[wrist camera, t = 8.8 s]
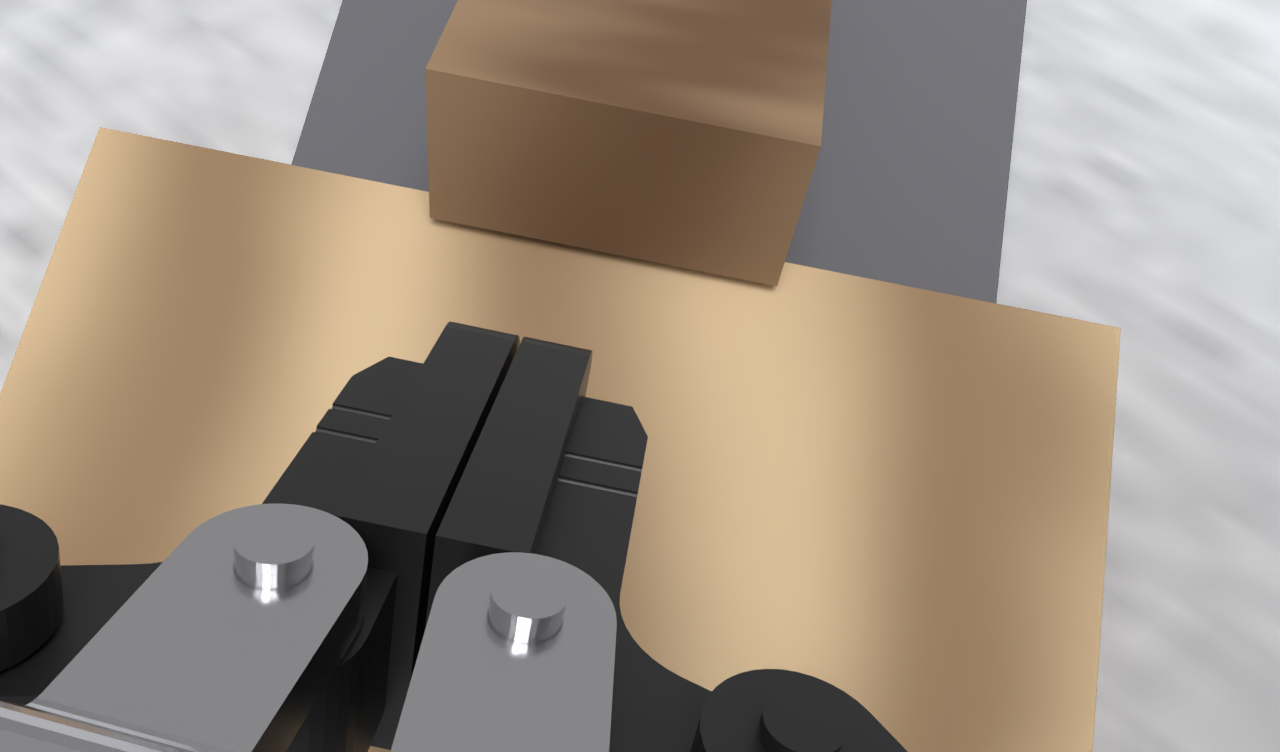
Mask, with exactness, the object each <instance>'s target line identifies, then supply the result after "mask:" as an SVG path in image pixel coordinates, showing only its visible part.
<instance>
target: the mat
mask: <svg viewBox="0 0 1280 752" xmlns="http://www.w3.org/2000/svg"><path fill="white" fill-rule="evenodd" d="M457 1H458V0H343V1H342V5H341V8H340V11H339V14H338V17H337V21H336V24H335V27H334V30H333V33H332V37H331V40H330V43H329V46H328V49H327V53H326V56H325V59H324V62H323V65H322V69H321V72H320V75H319V78H318V81H317V85H316V88H315V91H314V94H313V97H312V101H311V104H310V107H309V110H308V113H307V117H306V120H305V123H304V126H303V130H302V133H301V136H300V139H299V142H298V146H297V149H296V152H295V155H294V158H293V162H292V165H294V166H299V167H304V168H309V169H315V170H320V171H325V172H330V173H335V174H340V175H345V176H350V177H355V178H360V179H365V180H370V181H376V182H381V183H386V184H391V185H396V186H401V187H406V188H411V189H416V190H421V191H426V192H429V176H428V142H427V108H426V73H425V68H426V66H427V64H428V62H429V60H430V58H431V56H432V54H433V52H434V50H435V47H436V45H437V43H438V41H439V39H440V37H441V35H442V33H443V31H444V29H445V26H446V24H447V22H448V20H449V18H450V16H451V14H452V12H453V10H454V8H455V5H456V3H457ZM1026 4H1027V0H832V2H831V16H830V29H829V43H828V56H827V70H826V84H825V97H824V111H823V124H822V138H821V148H820V151H819V154H818V157H817V160H816V164H815V167H814V170H813V173H812V176H811V180H810V183H809V186H808V189H807V192H806V196H805V199H804V202H803V205H802V208H801V212H800V215H799V218H798V221H797V224H796V228H795V231H794V234H793V237H792V240H791V244H790V247H789V250H788V253H787V256H786V260H785V262H787V263H792V264H797V265H802V266H808V267H813V268H818V269H823V270H828V271H833V272H838V273H843V274H848V275H853V276H858V277H863V278H868V279H874V280H879V281H884V282H889V283H894V284H899V285H904V286H909V287H914V288H919V289H924V290H929V291H935V292H940V293H945V294H950V295H955V296H960V297H965V298H970V299H975V300H980V301H985V302H990V303H996V298H997V289H998V279H999V269H1000V259H1001V249H1002V239H1003V230H1004V220H1005V210H1006V200H1007V190H1008V181H1009V171H1010V161H1011V151H1012V141H1013V131H1014V122H1015V112H1016V102H1017V92H1018V82H1019V73H1020V63H1021V53H1022V43H1023V33H1024V23H1025V14H1026Z"/></svg>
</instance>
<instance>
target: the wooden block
mask: <svg viewBox="0 0 1280 752" xmlns="http://www.w3.org/2000/svg"><path fill="white" fill-rule="evenodd" d="M448 322H456V323H461V324H466V325H470V326H475V327H480V328H485V329H490V330H495V331H499V332H504V333H509V334H514V335H519V338H520V343H521V341H522V339H523V337H530V338H534V339H539V340H544V341H549V342H554V343H559V344H563V345H568V346H573V347H578V348H583V349H588V350H592V351H593V353H592V362H591V368H590V374H589V379H588V385H587V390H586V396H585V397H589V398H593V399H598V400H603V401H608V402H613V403H618V404H622V405H627V406H632V407H633V409H634V411H635V413H636V414H637V416H638V418H639V420H640V422H641V424H642V426H643V428H644V430H645V432H646V434H647V436H648V439H647V445H646V451H645V456H644V462H643V467H642V472H641V479H640V484H639V490H638V495H637V501H636V507H635V513H634V518H633V524H632V529H631V535H630V541H629V546H628V552H627V558H626V563H625V569H624V575H623V580H622V586H621V591H620V610H621V615H622V618H623V621H624V623H625V626H626V628H627V629H628V631H629V633H630V634H631V636H632V638H633V639H634V640H635V641H636V642H637V644H638V645H639V646H640V647H641V648H642V649H643V650H644V651H645V652H646V653H647V654H648V655H649V656H650V657H651V658H652V659H654V660H655V661H656V662H658V663H659V664H661V665H662V666H664V667H665V668H666V669H668V670H670V671H672V672H673V673H675V674H677V675H679V676H681V677H683V678H685V679H687V680H689V681H691V682H693V683H695V684H697V685H699V686H701V687H704V688H706V689H708V690H710V691H713V690H714V689H715V687H716V686H718V685H719V684H720V683H722V682H723V681H725V680H726V679H728V678H730V677H732V676H734V675H737V674H739V673H743V672H747V671H751V670H759V669H783V670H789V671H795V672H800V673H803V674H807V675H810V676H813V677H816V678H818V679H821V680H823V681H825V682H828V683H830V684H832V685H834V686H835V687H837V688H839V689H841V690H843V691H844V692H846V693H847V694H849V695H850V696H851V697H853V698H854V699H856V700H857V701H858V702H859V703H860V704H861V705H862V706H864V707H865V708H866V709H867V710H868V711H869V712H870V713H871V714H872V715H873V716H874V717H875V718H876V719H877V720H878V721H879V722H880V723H881V724H882V725H883V726H884V727H885V728H886V730H887V731H888V732H889V733H890V734H891V735H892V736H893V737H894V738H895V739H896V740H897V741H898V742H899V743H900V744H901V745H902V746H903V747H904V748H905V749H906V750H907V751H908V752H1093V738H1094V722H1095V707H1096V692H1097V677H1098V662H1099V647H1100V632H1101V617H1102V602H1103V587H1104V572H1105V557H1106V542H1107V526H1108V511H1109V496H1110V481H1111V466H1112V451H1113V436H1114V421H1115V406H1116V391H1117V376H1118V361H1119V345H1120V330H1121V328H1118V327H1112V326H1107V325H1102V324H1097V323H1092V322H1087V321H1082V320H1077V319H1072V318H1067V317H1062V316H1057V315H1051V314H1046V313H1041V312H1036V311H1031V310H1026V309H1021V308H1016V307H1011V306H1006V305H1001V304H996V303H990V302H985V301H980V300H975V299H970V298H965V297H960V296H955V295H950V294H945V293H940V292H935V291H929V290H924V289H919V288H914V287H909V286H904V285H899V284H894V283H889V282H884V281H879V280H874V279H868V278H863V277H858V276H853V275H848V274H843V273H838V272H833V271H828V270H823V269H818V268H813V267H808V266H802V265H797V264H792V263H787V262H785V263H784V266H783V269H782V272H781V276H780V279H779V282H778V285H777V286H774V285H769V284H764V283H758V282H753V281H748V280H743V279H738V278H733V277H728V276H723V275H718V274H713V273H708V272H703V271H697V270H692V269H687V268H682V267H677V266H672V265H667V264H662V263H657V262H652V261H647V260H642V259H636V258H631V257H626V256H621V255H616V254H611V253H606V252H601V251H596V250H591V249H586V248H581V247H576V246H570V245H565V244H560V243H555V242H550V241H545V240H540V239H535V238H530V237H525V236H520V235H515V234H509V233H504V232H499V231H494V230H489V229H484V228H479V227H474V226H469V225H464V224H459V223H454V222H449V221H443V220H438V219H433V218H430V211H429V192H426V191H421V190H416V189H411V188H406V187H401V186H396V185H391V184H386V183H381V182H376V181H370V180H365V179H360V178H355V177H350V176H345V175H340V174H335V173H330V172H325V171H320V170H315V169H309V168H304V167H299V166H294V165H289V164H284V163H279V162H274V161H269V160H264V159H259V158H254V157H248V156H243V155H238V154H233V153H228V152H223V151H218V150H213V149H208V148H203V147H198V146H193V145H188V144H182V143H177V142H172V141H167V140H162V139H157V138H152V137H147V136H142V135H137V134H132V133H127V132H121V131H116V130H111V129H106V128H101V127H100V128H99V130H98V133H97V136H96V138H95V141H94V144H93V146H92V149H91V152H90V155H89V157H88V160H87V163H86V165H85V168H84V171H83V173H82V176H81V179H80V181H79V184H78V187H77V189H76V192H75V195H74V197H73V200H72V203H71V206H70V208H69V211H68V214H67V216H66V219H65V222H64V224H63V227H62V230H61V232H60V235H59V238H58V240H57V243H56V246H55V248H54V251H53V254H52V257H51V259H50V262H49V265H48V267H47V270H46V273H45V275H44V278H43V281H42V283H41V286H40V289H39V291H38V294H37V297H36V300H35V302H34V305H33V308H32V310H31V313H30V316H29V318H28V321H27V324H26V326H25V329H24V332H23V334H22V337H21V340H20V342H19V345H18V348H17V351H16V353H15V356H14V359H13V361H12V364H11V367H10V369H9V372H8V375H7V377H6V380H5V383H4V385H3V388H2V391H1V393H0V504H1V505H6V506H11V507H15V508H19V509H21V510H24V511H26V512H29V513H31V514H33V515H35V516H36V517H38V518H40V519H41V520H43V521H44V522H45V523H46V524H47V525H48V526H49V527H50V528H51V529H52V530H53V532H54V534H55V535H56V537H57V541H58V545H59V553H60V565H122V564H147V563H157V562H163V561H164V560H165V559H166V558H167V557H168V556H169V555H170V554H171V553H172V552H173V551H174V549H175V548H176V547H177V546H178V545H179V544H180V543H181V542H182V541H183V540H184V539H185V538H186V537H187V535H189V534H190V533H191V532H192V531H193V530H194V529H195V528H196V527H198V526H199V525H201V524H202V523H204V522H205V521H207V520H209V519H211V518H213V517H215V516H217V515H219V514H221V513H224V512H227V511H230V510H233V509H237V508H241V507H246V506H251V505H259V504H262V503H263V501H264V500H265V499H266V497H267V496H268V494H269V493H270V491H271V490H272V489H273V487H274V486H275V484H276V483H277V482H278V480H279V479H280V477H281V476H282V474H283V473H284V472H285V470H286V469H287V467H288V466H289V465H290V463H291V462H292V460H293V459H294V457H295V456H296V455H297V453H298V452H299V450H300V449H301V448H302V446H303V445H304V443H305V442H306V440H307V439H308V438H309V436H310V435H311V433H312V432H316V428H317V425H318V423H319V422H320V421H321V419H322V418H323V416H324V415H325V413H326V412H327V411H328V409H332V405H333V402H334V401H335V399H336V398H337V396H338V395H339V394H340V392H341V391H342V389H343V388H344V387H345V385H346V384H347V382H348V381H349V379H350V378H351V377H352V376H353V375H355V374H357V373H358V372H360V371H362V370H364V369H366V368H368V367H370V366H372V365H374V364H375V363H377V362H379V361H381V360H383V359H385V358H387V357H394V358H399V359H404V360H408V361H413V362H418V363H424V361H425V360H426V358H427V356H428V355H429V353H430V351H431V350H432V348H433V346H434V345H435V343H436V341H437V340H438V338H439V336H440V335H441V333H442V331H443V330H444V328H445V326H446V325H447V323H448ZM368 752H391V750H388V749H383V748H378V747H373V746H370V747H369V750H368Z"/></svg>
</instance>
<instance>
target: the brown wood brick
mask: <svg viewBox="0 0 1280 752" xmlns="http://www.w3.org/2000/svg"><path fill="white" fill-rule="evenodd" d="M831 2H832V0H458V1H457V3H456V5H455V8H454V10H453V12H452V14H451V16H450V18H449V20H448V22H447V24H446V26H445V29H444V31H443V33H442V35H441V37H440V39H439V41H438V43H437V45H436V47H435V50H434V52H433V54H432V56H431V58H430V60H429V62H428V64H427V66H426V68H425V73H426V108H427V142H428V176H429V211H430V218H433V219H438V220H443V221H449V222H454V223H459V224H464V225H469V226H474V227H479V228H484V229H489V230H494V231H499V232H504V233H509V234H515V235H520V236H525V237H530V238H535V239H540V240H545V241H550V242H555V243H560V244H565V245H570V246H576V247H581V248H586V249H591V250H596V251H601V252H606V253H611V254H616V255H621V256H626V257H631V258H636V259H642V260H647V261H652V262H657V263H662V264H667V265H672V266H677V267H682V268H687V269H692V270H697V271H703V272H708V273H713V274H718V275H723V276H728V277H733V278H738V279H743V280H748V281H753V282H758V283H764V284H769V285H774V286H777V285H778V282H779V279H780V276H781V272H782V269H783V266H784V263H785V260H786V256H787V253H788V250H789V247H790V244H791V240H792V237H793V234H794V231H795V228H796V224H797V221H798V218H799V215H800V212H801V208H802V205H803V202H804V199H805V196H806V192H807V189H808V186H809V183H810V180H811V176H812V173H813V170H814V167H815V164H816V160H817V157H818V154H819V151H820V148H821V138H822V124H823V111H824V97H825V84H826V70H827V56H828V43H829V29H830V16H831Z"/></svg>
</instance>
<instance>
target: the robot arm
mask: <svg viewBox="0 0 1280 752" xmlns="http://www.w3.org/2000/svg"><path fill="white" fill-rule="evenodd" d="M592 353H593V351H592V350H588V349H583V348H578V347H573V346H568V345H563V344H559V343H554V342H549V341H544V340H539V339H534V338H530V337H523V339H522V341H521V343H520V338H519V335H514V334H509V333H504V332H499V331H495V330H490V329H485V328H480V327H475V326H470V325H466V324H461V323H456V322H448V323H447V325H446V326H445V328H444V330H443V331H442V333H441V335H440V336H439V338H438V340H437V341H436V343H435V345H434V346H433V348H432V350H431V351H430V353H429V355H428V356H427V358H426V360H425V361H424V363H418V362H413V361H408V360H404V359H399V358H394V357H387V358H385V359H383V360H381V361H379V362H377V363H375V364H374V365H372V366H370V367H368V368H366V369H364V370H362V371H360V372H358V373H357V374H355V375H353V376H352V377H351V378H350V379H349V381H348V382H347V384H346V385H345V387H344V388H343V389H342V391H341V392H340V394H339V395H338V396H337V398H336V399H335V401H334V402H333V405H332V409H328V411H327V412H326V413H325V415H324V416H323V418H322V419H321V421H320V422H319V423H318V425H317V428H316V432H312V433H311V435H310V436H309V438H308V439H307V440H306V442H305V443H304V445H303V446H302V448H301V449H300V450H299V452H298V453H297V455H296V456H295V457H294V459H293V460H292V462H291V463H290V465H289V466H288V467H287V469H286V470H285V472H284V473H283V474H282V476H281V477H280V479H279V480H278V482H277V483H276V484H275V486H274V487H273V489H272V490H271V491H270V493H269V494H268V496H267V497H266V499H265V500H264V501H263V503H262V504H259V505H251V506H246V507H241V508H237V509H233V510H230V511H227V512H224V513H221V514H219V515H217V516H215V517H213V518H211V519H209V520H207V521H205V522H204V523H202V524H201V525H199V526H198V527H196V528H195V529H194V530H193V531H192V532H191V533H190V534H189V535H187V537H186V538H185V539H184V540H183V541H182V542H181V543H180V544H179V545H178V546H177V547H176V548H175V549H174V551H173V552H172V553H171V554H170V555H169V556H168V557H167V558H166V559H165V560H164V561H163V562H157V563H147V564H122V565H60V553H59V545H58V541H57V537H56V535H55V534H54V532H53V530H52V529H51V528H50V527H49V526H48V525H47V524H46V523H45V522H44V521H43V520H41V519H40V518H38V517H36V516H35V515H33V514H31V513H29V512H26V511H24V510H21V509H19V508H15V507H11V506H6V505H1V504H0V752H368V750H369V747H370V746H373V747H378V748H383V749H388V750H391V752H908V751H907V750H906V749H905V748H904V747H903V746H902V745H901V744H900V743H899V742H898V741H897V740H896V739H895V738H894V737H893V736H892V735H891V734H890V733H889V732H888V731H887V730H886V728H885V727H884V726H883V725H882V724H881V723H880V722H879V721H878V720H877V719H876V718H875V717H874V716H873V715H872V714H871V713H870V712H869V711H868V710H867V709H866V708H865V707H864V706H862V705H861V704H860V703H859V702H858V701H857V700H856V699H854V698H853V697H851V696H850V695H849V694H847V693H846V692H844V691H843V690H841V689H839V688H837V687H835V686H834V685H832V684H830V683H828V682H825V681H823V680H821V679H818V678H816V677H813V676H810V675H807V674H803V673H800V672H795V671H789V670H783V669H759V670H751V671H747V672H743V673H739V674H737V675H734V676H732V677H730V678H728V679H726V680H725V681H723V682H722V683H720V684H719V685H718V686H716V687H715V689H714V690H713V691H710V690H708V689H706V688H704V687H701V686H699V685H697V684H695V683H693V682H691V681H689V680H687V679H685V678H683V677H681V676H679V675H677V674H675V673H673V672H672V671H670V670H668V669H666V668H665V667H664V666H662V665H661V664H659V663H658V662H656V661H655V660H654V659H652V658H651V657H650V656H649V655H648V654H647V653H646V652H645V651H644V650H643V649H642V648H641V647H640V646H639V645H638V644H637V642H636V641H635V640H634V639H633V638H632V636H631V634H630V633H629V631H628V629H627V628H626V626H625V623H624V621H623V618H622V615H621V610H620V591H621V586H622V580H623V575H624V569H625V563H626V558H627V552H628V546H629V541H630V535H631V529H632V524H633V518H634V513H635V507H636V501H637V495H638V490H639V484H640V479H641V472H642V467H643V462H644V456H645V451H646V445H647V439H648V436H647V434H646V432H645V430H644V428H643V426H642V424H641V422H640V420H639V418H638V416H637V414H636V413H635V411H634V409H633V407H632V406H627V405H622V404H618V403H613V402H608V401H603V400H598V399H593V398H589V397H585V396H586V390H587V385H588V379H589V374H590V368H591V362H592Z"/></svg>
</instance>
